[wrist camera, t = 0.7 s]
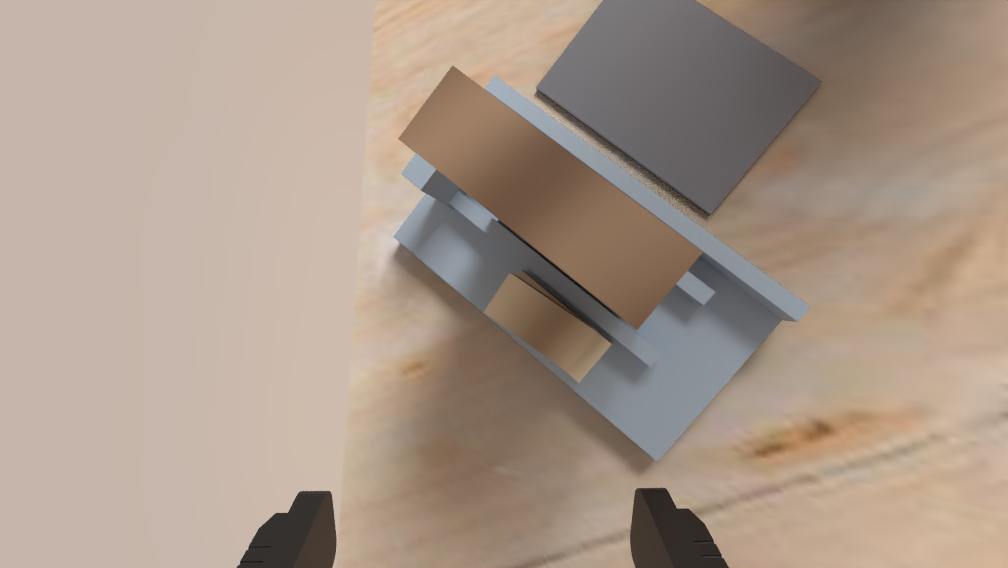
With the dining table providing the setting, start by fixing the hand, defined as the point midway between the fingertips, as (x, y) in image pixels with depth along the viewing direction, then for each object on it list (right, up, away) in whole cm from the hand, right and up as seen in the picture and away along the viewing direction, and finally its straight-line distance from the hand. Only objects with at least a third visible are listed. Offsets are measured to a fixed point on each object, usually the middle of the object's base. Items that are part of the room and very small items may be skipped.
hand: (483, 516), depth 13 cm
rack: (+5, +7, +20) cm, 22 cm away
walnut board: (+5, +8, +18) cm, 21 cm away
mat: (+11, +19, +19) cm, 29 cm away
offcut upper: (+3, +4, +17) cm, 18 cm away
